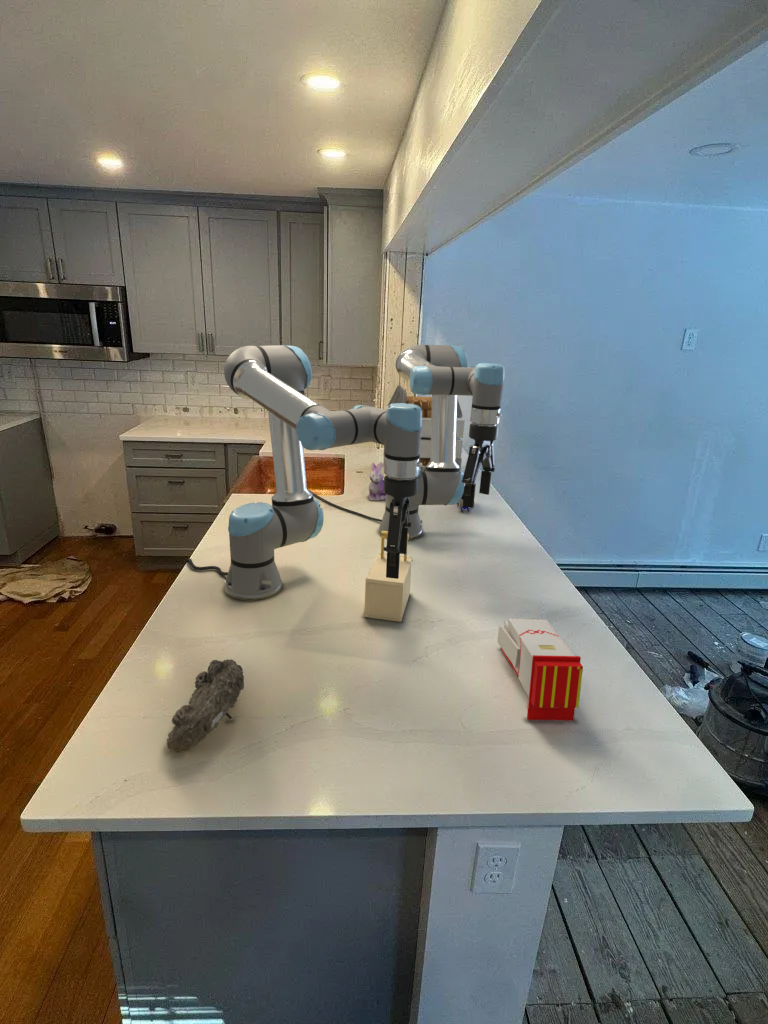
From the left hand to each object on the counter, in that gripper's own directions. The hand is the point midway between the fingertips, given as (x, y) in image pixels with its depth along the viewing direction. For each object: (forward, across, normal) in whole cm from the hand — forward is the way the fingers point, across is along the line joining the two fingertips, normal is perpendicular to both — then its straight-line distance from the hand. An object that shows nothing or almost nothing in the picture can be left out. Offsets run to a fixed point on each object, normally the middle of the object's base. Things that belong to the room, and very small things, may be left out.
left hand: (396, 564), depth 131 cm
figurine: (+19, +104, +22) cm, 108 cm away
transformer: (+19, +147, +9) cm, 148 cm away
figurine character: (+19, +101, -14) cm, 104 cm away
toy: (+19, -10, -32) cm, 39 cm away
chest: (+19, +15, +4) cm, 25 cm away
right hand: (-7, +33, -17) cm, 38 cm away
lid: (+9, +15, +4) cm, 18 cm away
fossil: (+19, -36, +30) cm, 50 cm away
